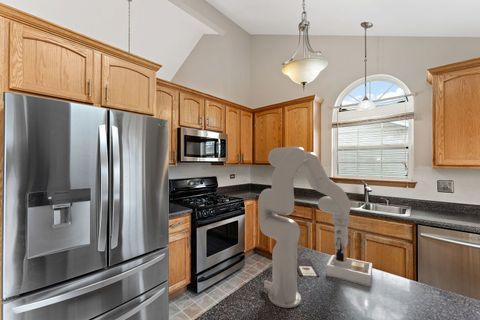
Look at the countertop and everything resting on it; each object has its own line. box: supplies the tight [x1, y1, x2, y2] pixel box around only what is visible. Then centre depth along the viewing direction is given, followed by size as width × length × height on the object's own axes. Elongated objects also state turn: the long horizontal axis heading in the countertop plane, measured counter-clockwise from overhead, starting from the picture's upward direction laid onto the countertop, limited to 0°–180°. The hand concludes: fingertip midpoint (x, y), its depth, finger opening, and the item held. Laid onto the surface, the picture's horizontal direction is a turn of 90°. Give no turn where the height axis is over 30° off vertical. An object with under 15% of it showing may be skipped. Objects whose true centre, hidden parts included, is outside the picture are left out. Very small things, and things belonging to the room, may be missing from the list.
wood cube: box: [351, 261, 364, 273], centre depth 106 cm, size 5×5×5 cm
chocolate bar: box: [297, 258, 320, 278], centre depth 115 cm, size 9×1×18 cm
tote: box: [326, 254, 373, 288], centre depth 108 cm, size 18×14×5 cm
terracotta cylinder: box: [334, 245, 348, 262], centre depth 111 cm, size 5×5×7 cm
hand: (340, 258), depth 111 cm, fingers closed on terracotta cylinder, 5 cm apart
